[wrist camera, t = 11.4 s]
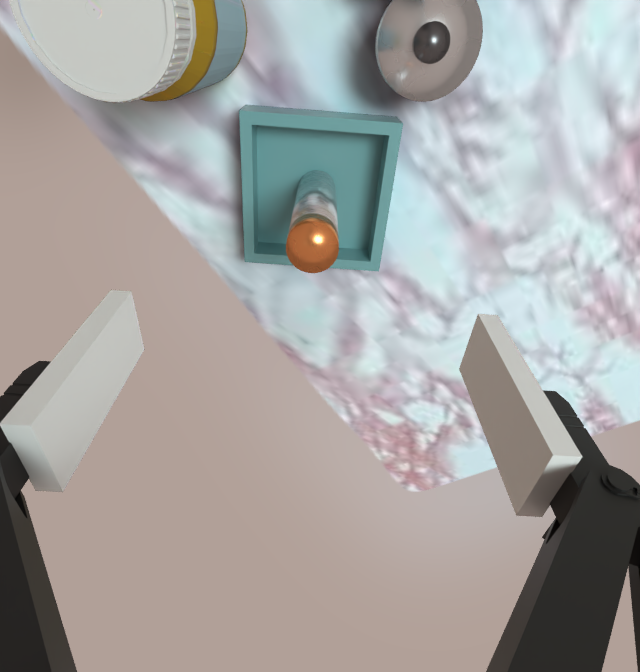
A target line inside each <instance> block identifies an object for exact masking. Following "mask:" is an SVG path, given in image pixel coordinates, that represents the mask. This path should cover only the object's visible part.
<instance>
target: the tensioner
mask: <svg viewBox="0 0 640 672" xmlns="http://www.w3.org/2000/svg"><path fill="white" fill-rule="evenodd" d="M482 33H483V26H482V17H481V12H480V9H479V6H478V3H477V1H476V0H392V1H391V2H390V4H389V5H388V7H387V8H386V10H385V12H384V14H383V15H382V18H381V20H380V23H379V26H378V30H377V35H376V44H375V51H376V60H377V64H378V67H379V70H380V73H381V75H382V77H383V78H384V80H385V81H386V83H387V84H388V85H389V86H390V87H391V88H392V89H393V90H394V91H396V92H397V93H398V94H400V95H401V96H403V97H405V98H407V99H410V100H413V101H421V102H426V101H432V100H436V99H439V98H441V97H444V96H446V95H447V94H449V93H451V92H452V91H453V90H454V89H456V88H457V87H458V86H459V85H460V84H461V83H462V82H463V81H464V80H465V78H466V77H467V76H468V74H469V73H470V71H471V70H472V68H473V66H474V64H475V62H476V60H477V57H478V54H479V51H480V48H481V42H482Z"/></svg>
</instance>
